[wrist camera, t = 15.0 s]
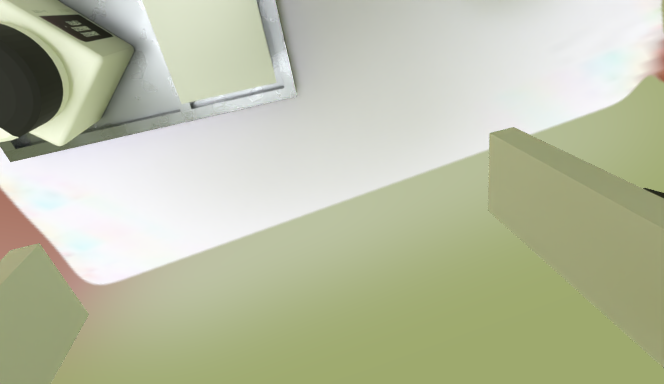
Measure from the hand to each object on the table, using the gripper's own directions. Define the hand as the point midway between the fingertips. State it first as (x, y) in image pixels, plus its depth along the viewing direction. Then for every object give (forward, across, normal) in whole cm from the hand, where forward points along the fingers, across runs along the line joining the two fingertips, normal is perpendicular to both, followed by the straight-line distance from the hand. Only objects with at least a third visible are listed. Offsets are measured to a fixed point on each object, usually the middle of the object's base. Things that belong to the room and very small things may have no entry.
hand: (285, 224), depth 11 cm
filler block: (+27, -3, +5) cm, 28 cm away
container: (+27, -16, +5) cm, 32 cm away
